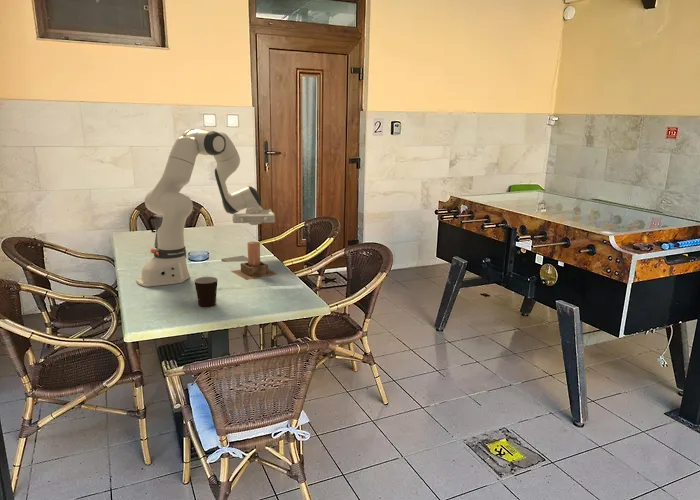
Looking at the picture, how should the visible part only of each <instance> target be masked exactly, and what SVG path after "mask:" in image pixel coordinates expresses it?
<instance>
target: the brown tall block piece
mask: <svg viewBox="0 0 700 500" xmlns="http://www.w3.org/2000/svg"><path fill="white" fill-rule="evenodd" d="M246 245H247V258H248V261H247V262H248V266H249V267H255V266H260V261H261V242H260V241H248V242H247V244H246Z"/></svg>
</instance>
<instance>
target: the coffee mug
mask: <svg viewBox="0 0 700 500" xmlns="http://www.w3.org/2000/svg"><path fill="white" fill-rule="evenodd" d="M194 287H195V292H196V299H197V303H198V307H200V308H205V309H207V308H211V307H215V306H216V305H217V304H216V303H217V294H218V293H217V291H218V278H217V277H215V276H202V277H197V278H195V279H194Z"/></svg>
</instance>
